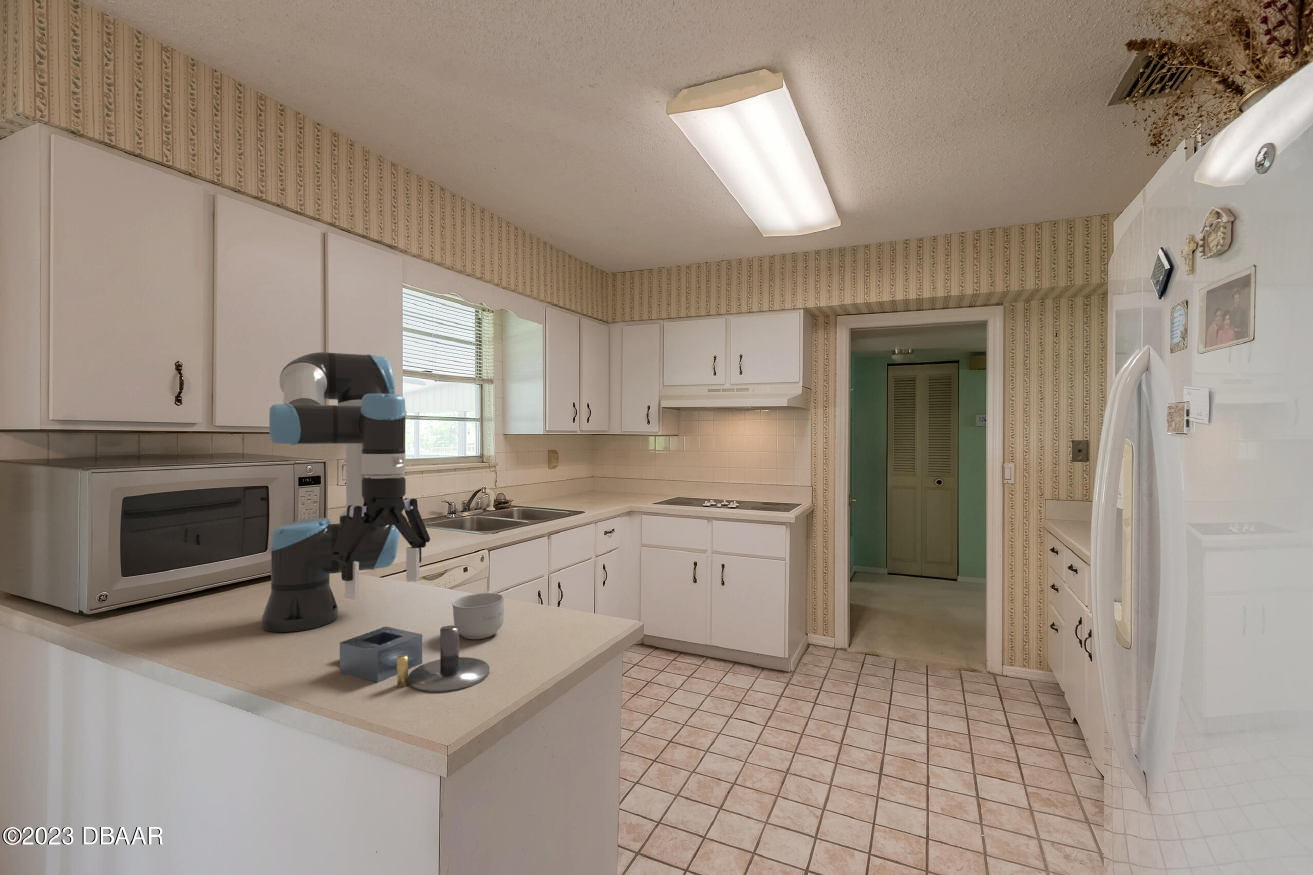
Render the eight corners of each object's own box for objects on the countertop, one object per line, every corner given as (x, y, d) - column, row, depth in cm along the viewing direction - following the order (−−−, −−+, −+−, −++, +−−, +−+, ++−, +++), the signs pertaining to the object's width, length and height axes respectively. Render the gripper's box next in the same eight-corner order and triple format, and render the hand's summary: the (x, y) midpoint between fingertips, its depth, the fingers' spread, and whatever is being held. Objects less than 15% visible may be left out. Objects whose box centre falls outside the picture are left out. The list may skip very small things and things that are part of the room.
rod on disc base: (390, 682, 105) (390, 634, 105) (449, 655, 118) (449, 612, 117) (449, 698, 99) (449, 647, 99) (505, 668, 111) (505, 622, 111)
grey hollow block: (422, 662, 114) (422, 634, 114) (377, 682, 105) (377, 651, 105) (368, 649, 120) (368, 622, 120) (322, 667, 111) (321, 638, 111)
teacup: (489, 645, 123) (489, 607, 123) (442, 641, 125) (442, 603, 125) (518, 624, 137) (518, 589, 137) (475, 620, 139) (475, 586, 139)
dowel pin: (394, 686, 103) (394, 657, 103) (403, 682, 105) (403, 654, 105) (401, 688, 103) (401, 659, 103) (410, 684, 104) (410, 655, 104)
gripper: (336, 482, 98) (337, 609, 99) (448, 472, 121) (448, 576, 121) (307, 480, 102) (307, 603, 102) (421, 471, 124) (421, 572, 125)
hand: (384, 589), depth 112 cm, fingers open, 13 cm apart
